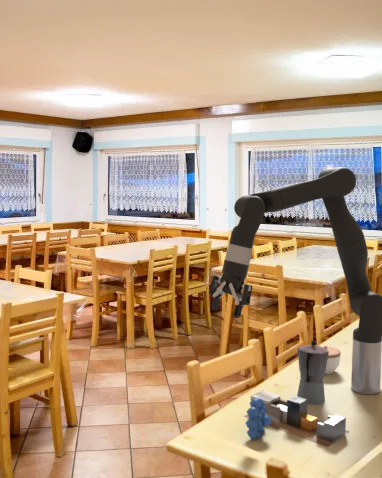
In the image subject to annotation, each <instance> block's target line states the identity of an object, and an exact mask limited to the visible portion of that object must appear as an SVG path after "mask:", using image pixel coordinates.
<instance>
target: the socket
mask: <svg viewBox="0 0 382 478" xmlns="http://www.w3.org/2000/svg"><path fill="white" fill-rule="evenodd" d="M321 422H322V421H320V422H318V423H317V437H316V438H319V439H322V440H325V441H328V442H330V443H333V444H335V443H336V442H337V441H339V440H340V439H341V438H343V437H345V436H346V435H345V430H347V429H346V428H347V426H346V422H347V417H346V416H342V415H341V414H340V415H339V414H337V413H336V414H335V415H331V414H329V415H327V420H325V421H324V422H323V423H321ZM338 439H339V440H338Z"/></svg>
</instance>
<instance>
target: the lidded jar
mask: <svg viewBox="0 0 382 478" xmlns="http://www.w3.org/2000/svg"><path fill="white" fill-rule="evenodd" d="M319 346H320V345H319ZM320 347H323V348H326V349H327V350H328V352H329V354H328V359H327V365H326V371H325V375H328V374H329V375H330V374H333V373H335V371H336V370H337V368H338V367H339V365H340V362H341V350H339V348H336V347H333V346H328V345H324V346H322V345H321V346H320Z"/></svg>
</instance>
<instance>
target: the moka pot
mask: <svg viewBox="0 0 382 478" xmlns="http://www.w3.org/2000/svg"><path fill="white" fill-rule="evenodd" d="M310 342H311V344H309V345H308V344H305V345H302V346H298V347H297V357H298V358H297V359H298V370H299V374H300V379H299V384H298V389H297V393H296V394H297V395H296V396H298V397H301V398H304V399H307V406H308V405H309V406H310V405H311V406H312V405H315V406H317V405H321V404H324V403H325V402H326V397H325V395H326V394H325V384H324V376H325V375H326V374H325V371H326V365H327V359H328V354H329V352H328V350H327V349H326V348H323V347H320V345H318V344H316V343H317V341H316V340H315V339H314V340H311V341H310Z"/></svg>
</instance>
